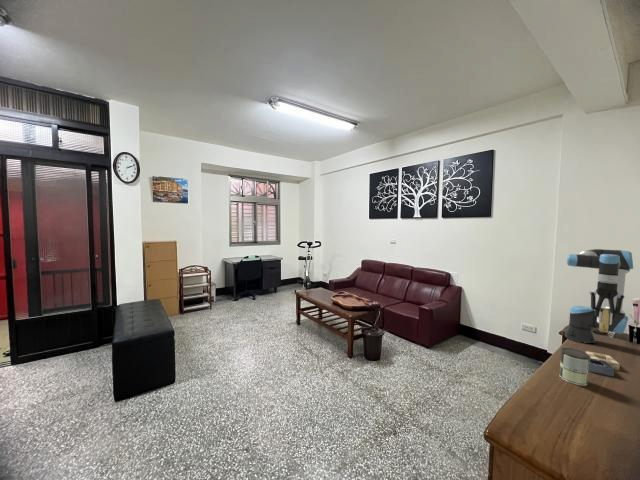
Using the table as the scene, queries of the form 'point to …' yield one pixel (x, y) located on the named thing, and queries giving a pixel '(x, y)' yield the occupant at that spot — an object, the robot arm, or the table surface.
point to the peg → (604, 320)
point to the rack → (604, 359)
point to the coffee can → (574, 366)
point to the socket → (600, 367)
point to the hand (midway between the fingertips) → (604, 323)
